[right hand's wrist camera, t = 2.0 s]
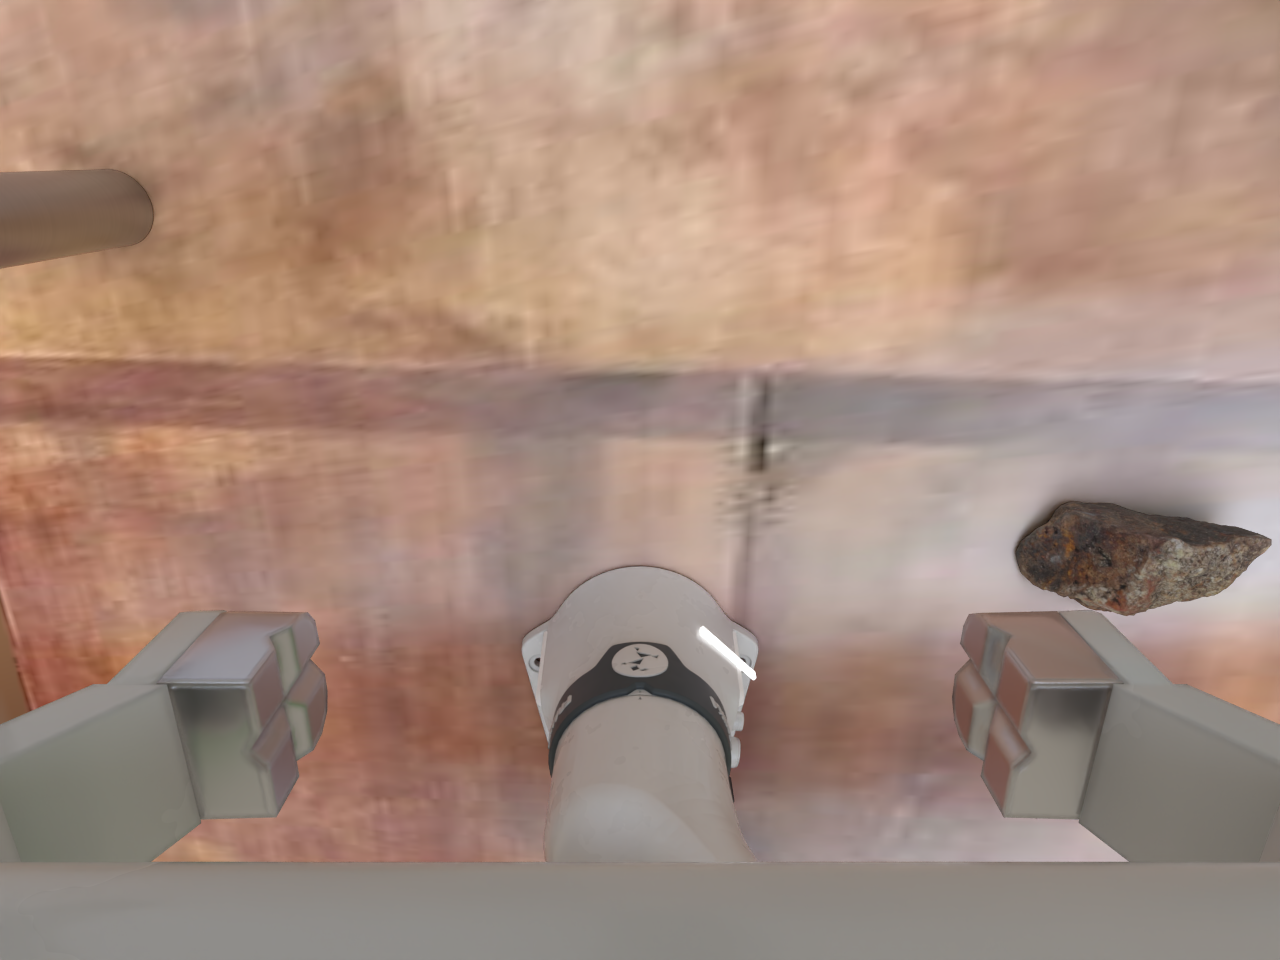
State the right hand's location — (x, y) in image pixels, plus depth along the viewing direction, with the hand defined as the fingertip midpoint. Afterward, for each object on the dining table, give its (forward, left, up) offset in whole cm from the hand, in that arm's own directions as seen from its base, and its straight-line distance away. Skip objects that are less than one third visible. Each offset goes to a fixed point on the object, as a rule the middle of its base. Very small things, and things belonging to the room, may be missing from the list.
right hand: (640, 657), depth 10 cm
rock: (-22, -36, -48) cm, 64 cm away
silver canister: (+3, +34, -48) cm, 59 cm away
